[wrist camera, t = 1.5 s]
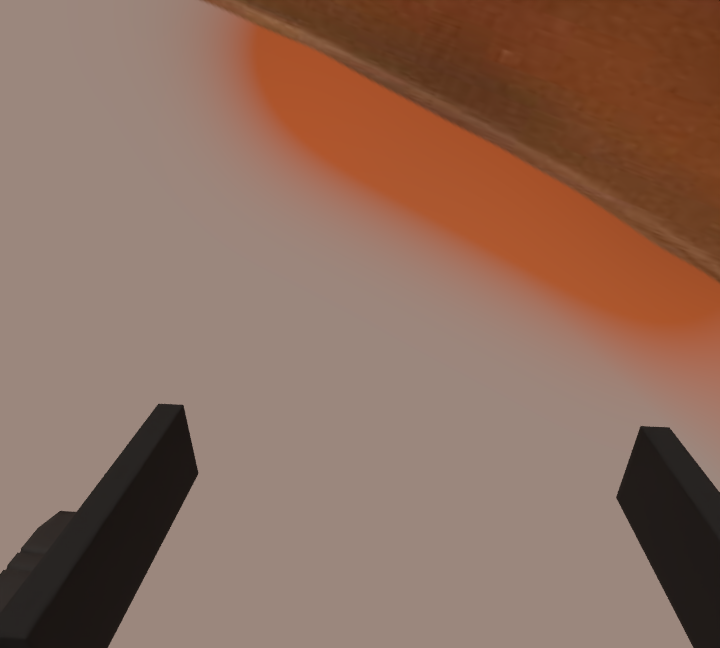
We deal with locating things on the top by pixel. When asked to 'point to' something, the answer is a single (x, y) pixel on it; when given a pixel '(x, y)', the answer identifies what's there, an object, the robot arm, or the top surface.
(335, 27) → the top surface
